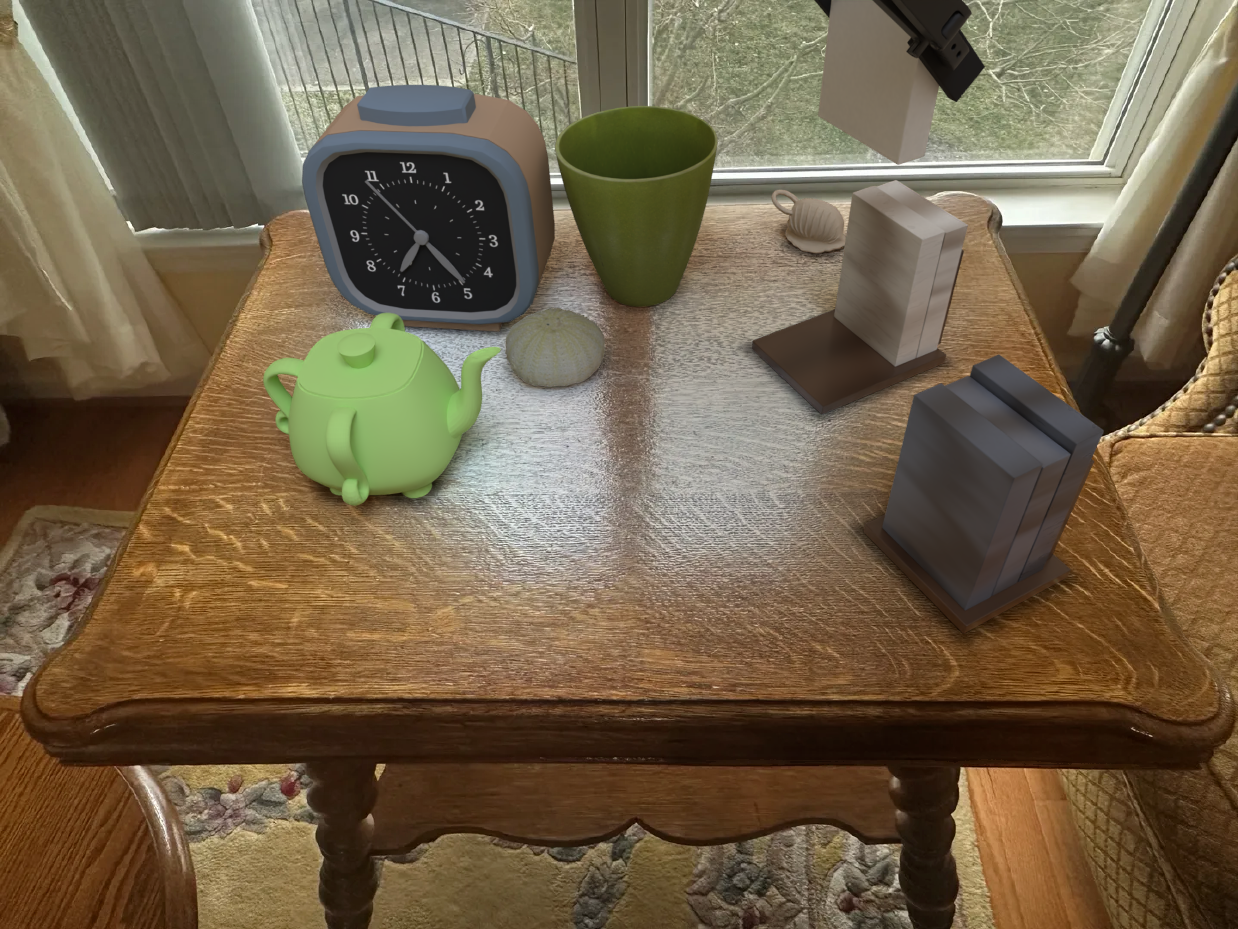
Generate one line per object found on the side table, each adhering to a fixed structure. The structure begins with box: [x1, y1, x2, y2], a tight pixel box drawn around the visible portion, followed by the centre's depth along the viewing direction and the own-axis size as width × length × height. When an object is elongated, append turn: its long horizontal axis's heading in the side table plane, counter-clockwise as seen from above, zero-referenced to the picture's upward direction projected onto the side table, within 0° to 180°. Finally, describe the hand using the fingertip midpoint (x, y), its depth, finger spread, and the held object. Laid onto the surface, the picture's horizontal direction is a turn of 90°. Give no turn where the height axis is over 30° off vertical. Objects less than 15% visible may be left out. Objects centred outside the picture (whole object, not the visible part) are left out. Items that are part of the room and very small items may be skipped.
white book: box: [817, 0, 940, 166], centre depth 63 cm, size 9×2×13 cm, turn 29°
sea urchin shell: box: [504, 307, 606, 388], centre depth 88 cm, size 9×8×8 cm
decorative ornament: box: [770, 189, 846, 254], centre depth 101 cm, size 4×8×5 cm, turn 58°
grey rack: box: [863, 354, 1105, 634], centre depth 66 cm, size 11×10×15 cm
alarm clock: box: [301, 84, 556, 332], centre depth 89 cm, size 21×10×22 cm, turn 82°
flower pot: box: [554, 105, 719, 308], centre depth 92 cm, size 15×15×16 cm
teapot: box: [262, 313, 502, 507], centre depth 76 cm, size 16×14×13 cm
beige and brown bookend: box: [751, 179, 969, 415], centre depth 83 cm, size 11×15×14 cm
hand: (916, 57), depth 65 cm, fingers closed on white book, 9 cm apart
